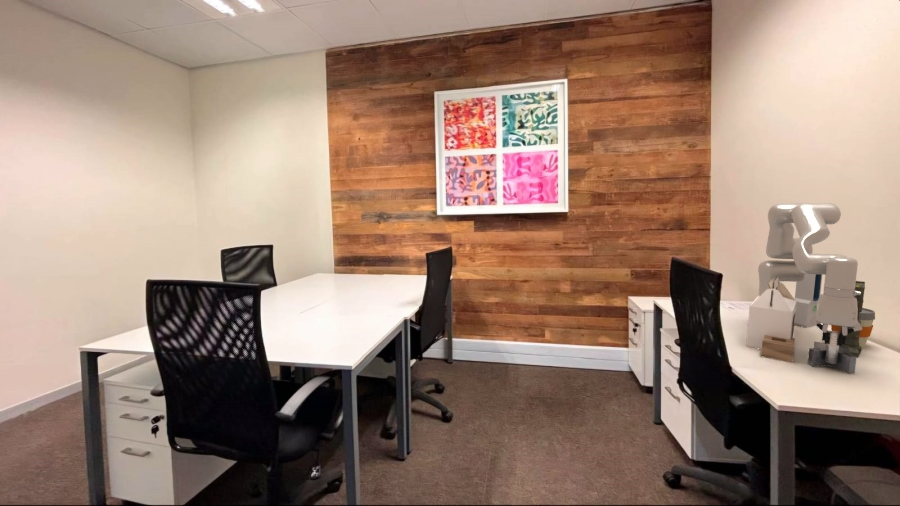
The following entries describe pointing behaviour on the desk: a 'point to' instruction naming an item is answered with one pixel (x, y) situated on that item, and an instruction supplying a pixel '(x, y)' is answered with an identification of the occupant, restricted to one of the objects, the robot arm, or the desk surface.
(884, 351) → the desk surface
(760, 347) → the gable box
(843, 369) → the v block
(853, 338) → the mechanical leg
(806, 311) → the electronic device
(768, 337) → the beam
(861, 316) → the reusable coffee cup
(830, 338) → the axle
